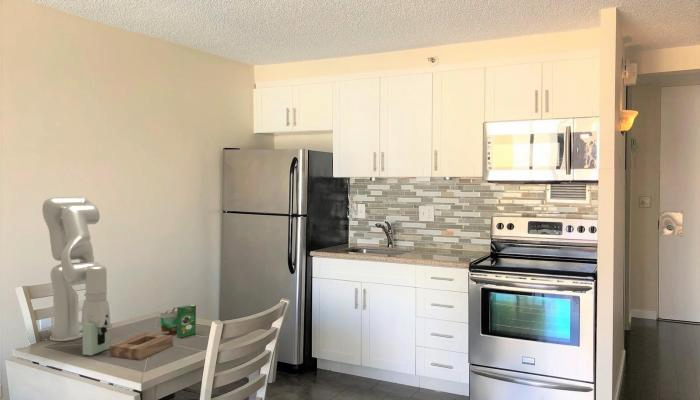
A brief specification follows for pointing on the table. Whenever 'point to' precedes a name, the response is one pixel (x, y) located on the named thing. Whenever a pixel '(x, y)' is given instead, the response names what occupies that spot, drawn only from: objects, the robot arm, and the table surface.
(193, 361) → the table surface
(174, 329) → the food container
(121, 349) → the slotted block
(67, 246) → the robot arm
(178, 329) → the coffee box
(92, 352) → the pale green upright block
